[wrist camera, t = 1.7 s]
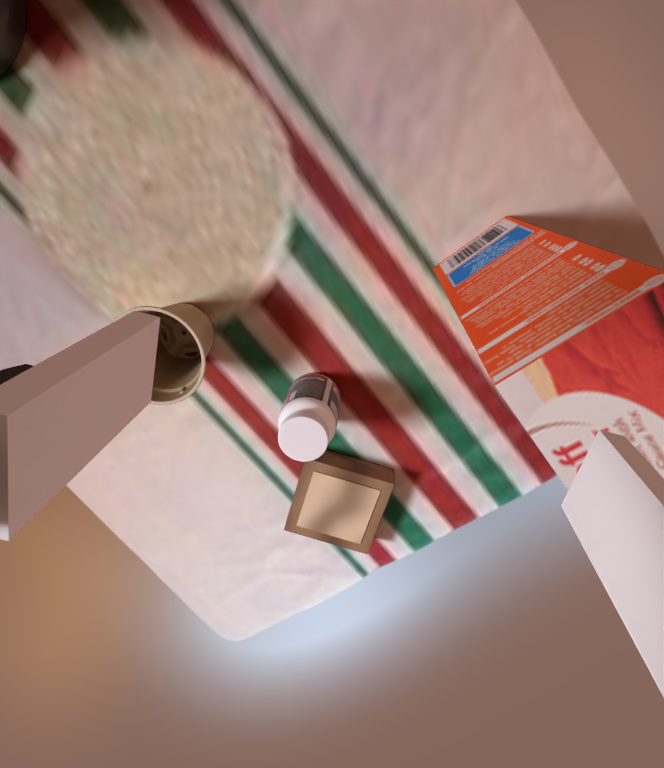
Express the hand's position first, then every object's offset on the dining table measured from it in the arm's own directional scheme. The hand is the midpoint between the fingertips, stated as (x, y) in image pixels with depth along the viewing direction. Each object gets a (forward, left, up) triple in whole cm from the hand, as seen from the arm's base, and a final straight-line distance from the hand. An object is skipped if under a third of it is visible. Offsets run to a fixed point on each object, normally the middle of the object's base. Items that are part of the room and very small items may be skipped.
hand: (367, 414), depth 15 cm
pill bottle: (-2, -17, -38) cm, 42 cm away
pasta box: (+17, -4, -38) cm, 42 cm away
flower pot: (-17, -14, -38) cm, 44 cm away
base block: (+4, -28, -38) cm, 47 cm away
